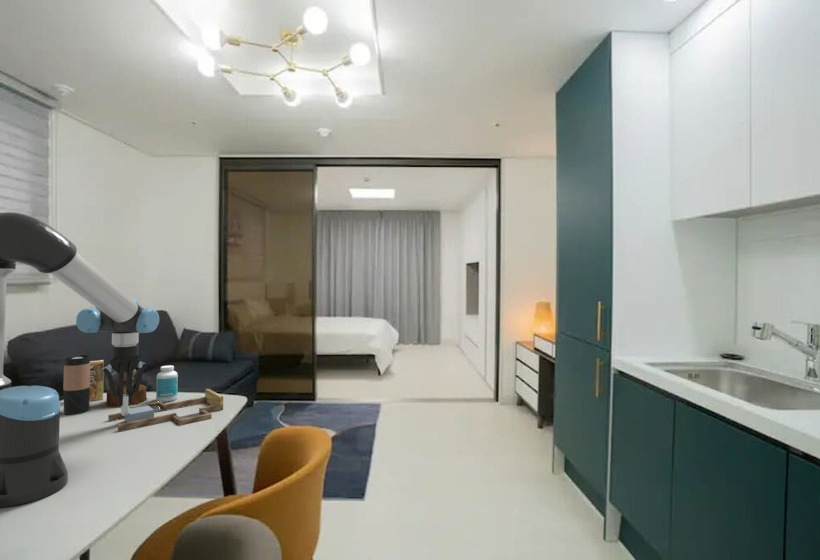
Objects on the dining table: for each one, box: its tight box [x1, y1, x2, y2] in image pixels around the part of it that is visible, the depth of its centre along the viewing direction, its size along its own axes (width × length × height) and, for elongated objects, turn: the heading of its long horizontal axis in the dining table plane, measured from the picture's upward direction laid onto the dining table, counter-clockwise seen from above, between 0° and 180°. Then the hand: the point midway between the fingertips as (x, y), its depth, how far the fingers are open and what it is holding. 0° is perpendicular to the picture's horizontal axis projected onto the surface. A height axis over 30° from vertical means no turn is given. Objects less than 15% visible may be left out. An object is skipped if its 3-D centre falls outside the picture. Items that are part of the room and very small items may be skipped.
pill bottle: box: [155, 365, 179, 403], centre depth 170 cm, size 8×7×14 cm
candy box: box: [89, 359, 105, 402], centre depth 168 cm, size 9×4×15 cm, turn 127°
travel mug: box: [62, 354, 91, 416], centre depth 154 cm, size 8×8×20 cm
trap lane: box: [107, 388, 224, 432], centre depth 152 cm, size 33×28×5 cm
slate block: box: [124, 405, 155, 423], centre depth 145 cm, size 7×7×4 cm
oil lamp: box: [105, 343, 148, 408], centre depth 168 cm, size 14×15×40 cm
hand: (124, 414), depth 143 cm, fingers closed
